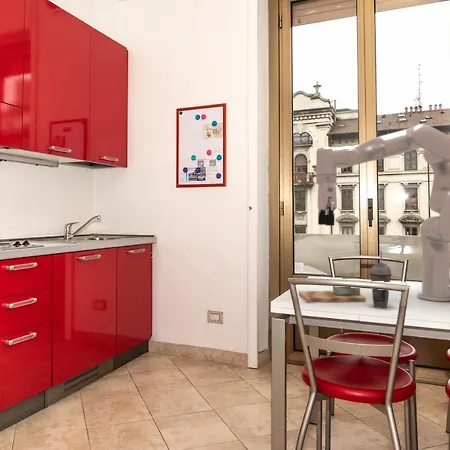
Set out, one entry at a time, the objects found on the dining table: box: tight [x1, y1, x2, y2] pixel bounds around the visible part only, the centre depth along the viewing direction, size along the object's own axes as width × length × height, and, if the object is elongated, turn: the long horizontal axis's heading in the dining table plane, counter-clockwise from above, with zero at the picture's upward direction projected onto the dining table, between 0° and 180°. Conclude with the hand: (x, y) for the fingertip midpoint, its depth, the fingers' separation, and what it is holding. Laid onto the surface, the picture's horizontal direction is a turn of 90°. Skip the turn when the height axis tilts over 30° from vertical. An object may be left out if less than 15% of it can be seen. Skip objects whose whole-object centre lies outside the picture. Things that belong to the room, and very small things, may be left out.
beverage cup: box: [369, 250, 392, 309], centre depth 149 cm, size 7×7×20 cm
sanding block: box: [332, 277, 361, 296], centre depth 164 cm, size 9×5×6 cm, turn 92°
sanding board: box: [298, 290, 366, 304], centre depth 164 cm, size 22×14×2 cm, turn 92°
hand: (325, 225), depth 160 cm, fingers open, 9 cm apart
